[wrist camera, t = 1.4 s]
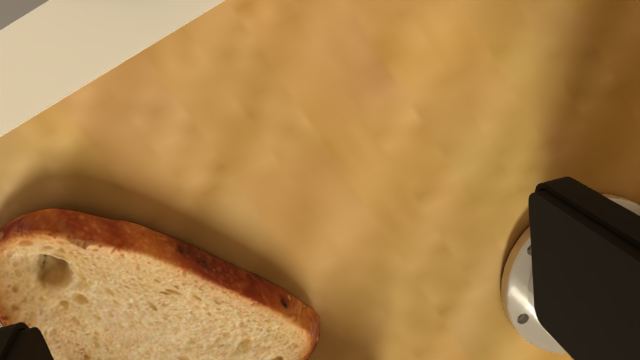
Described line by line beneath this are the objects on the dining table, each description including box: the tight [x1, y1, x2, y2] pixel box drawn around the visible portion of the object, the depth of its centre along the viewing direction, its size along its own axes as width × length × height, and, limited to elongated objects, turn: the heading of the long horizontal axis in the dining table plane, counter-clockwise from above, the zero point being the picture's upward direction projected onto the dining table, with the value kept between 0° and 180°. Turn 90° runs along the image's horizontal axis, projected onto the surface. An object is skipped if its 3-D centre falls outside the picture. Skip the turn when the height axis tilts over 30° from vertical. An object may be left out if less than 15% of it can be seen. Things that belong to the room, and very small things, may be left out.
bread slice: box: [0, 208, 320, 360], centre depth 36 cm, size 18×18×4 cm
